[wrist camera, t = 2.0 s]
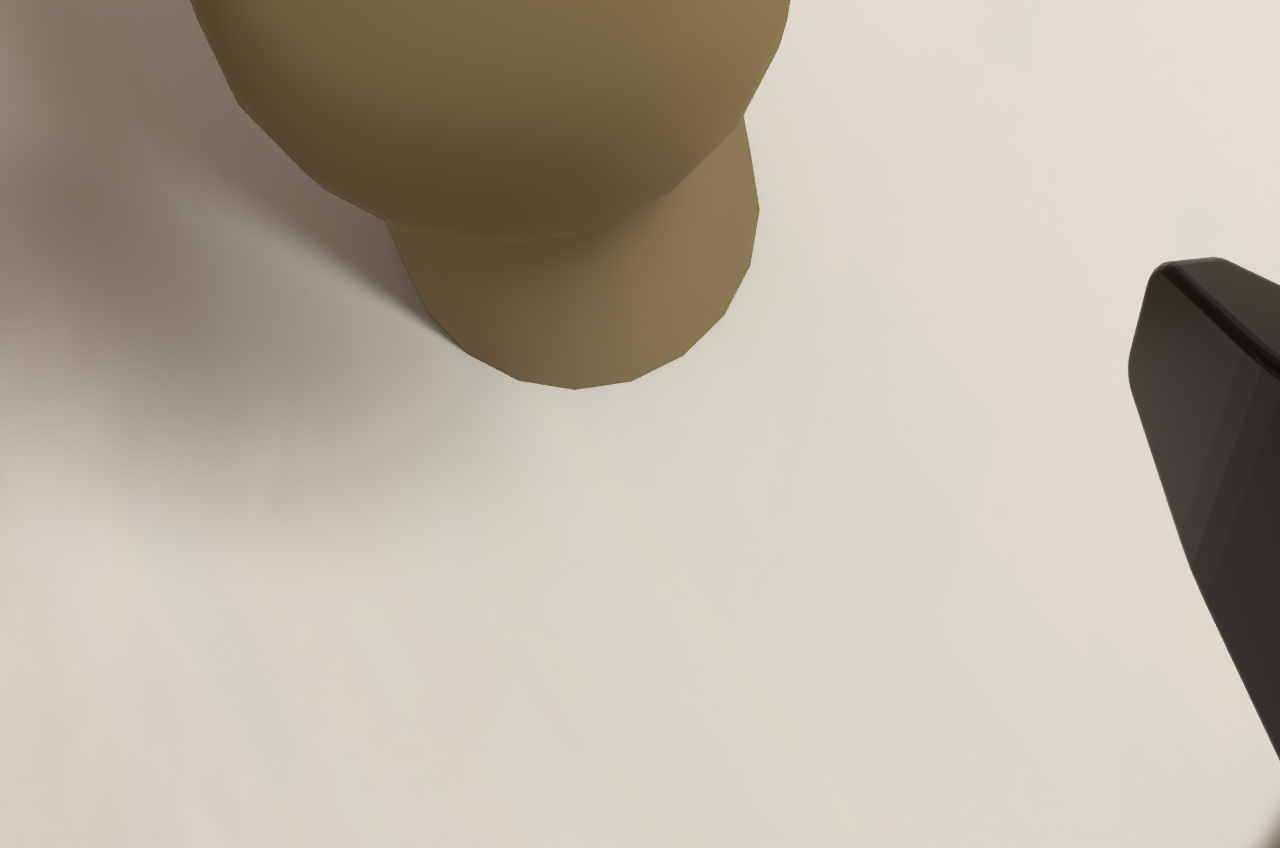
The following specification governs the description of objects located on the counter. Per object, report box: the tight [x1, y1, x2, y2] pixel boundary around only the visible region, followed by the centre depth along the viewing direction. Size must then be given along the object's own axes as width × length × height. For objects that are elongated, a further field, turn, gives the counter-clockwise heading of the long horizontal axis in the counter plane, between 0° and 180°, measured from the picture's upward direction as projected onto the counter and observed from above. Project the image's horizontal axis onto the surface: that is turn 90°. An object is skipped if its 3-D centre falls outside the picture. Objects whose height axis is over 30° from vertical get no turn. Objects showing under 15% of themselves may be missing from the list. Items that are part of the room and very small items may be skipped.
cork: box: [191, 0, 790, 390], centre depth 14 cm, size 6×6×11 cm
